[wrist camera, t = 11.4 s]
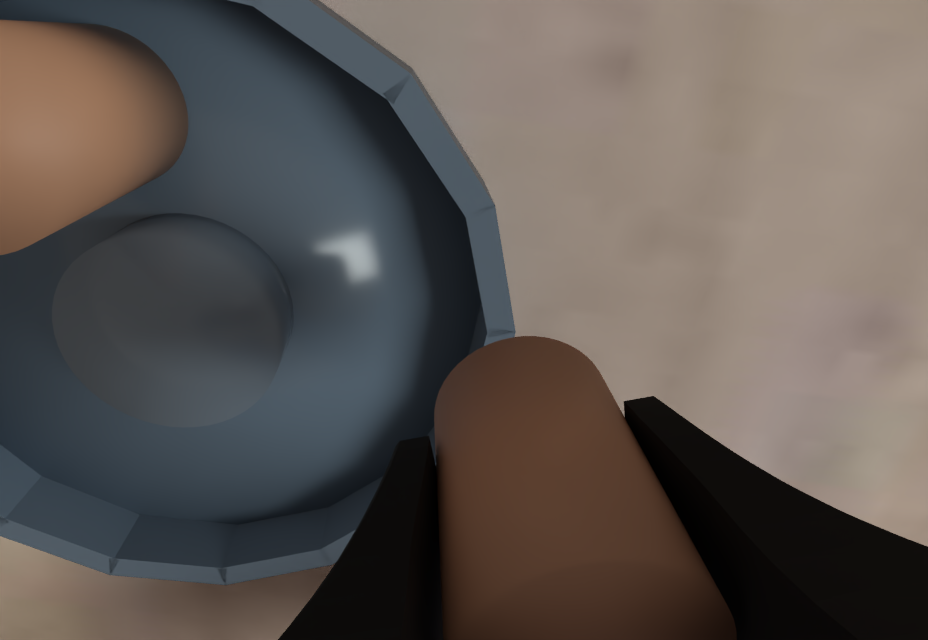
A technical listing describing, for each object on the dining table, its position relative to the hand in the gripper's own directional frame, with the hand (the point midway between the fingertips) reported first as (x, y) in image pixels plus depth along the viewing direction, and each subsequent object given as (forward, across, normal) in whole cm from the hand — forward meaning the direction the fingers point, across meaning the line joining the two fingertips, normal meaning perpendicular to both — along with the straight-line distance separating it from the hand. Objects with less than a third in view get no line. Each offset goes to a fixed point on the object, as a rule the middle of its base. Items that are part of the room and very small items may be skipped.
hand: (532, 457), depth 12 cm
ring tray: (+8, +9, -2) cm, 13 cm away
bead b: (+1, 0, 0) cm, 1 cm away
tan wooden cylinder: (+7, +9, -8) cm, 14 cm away
